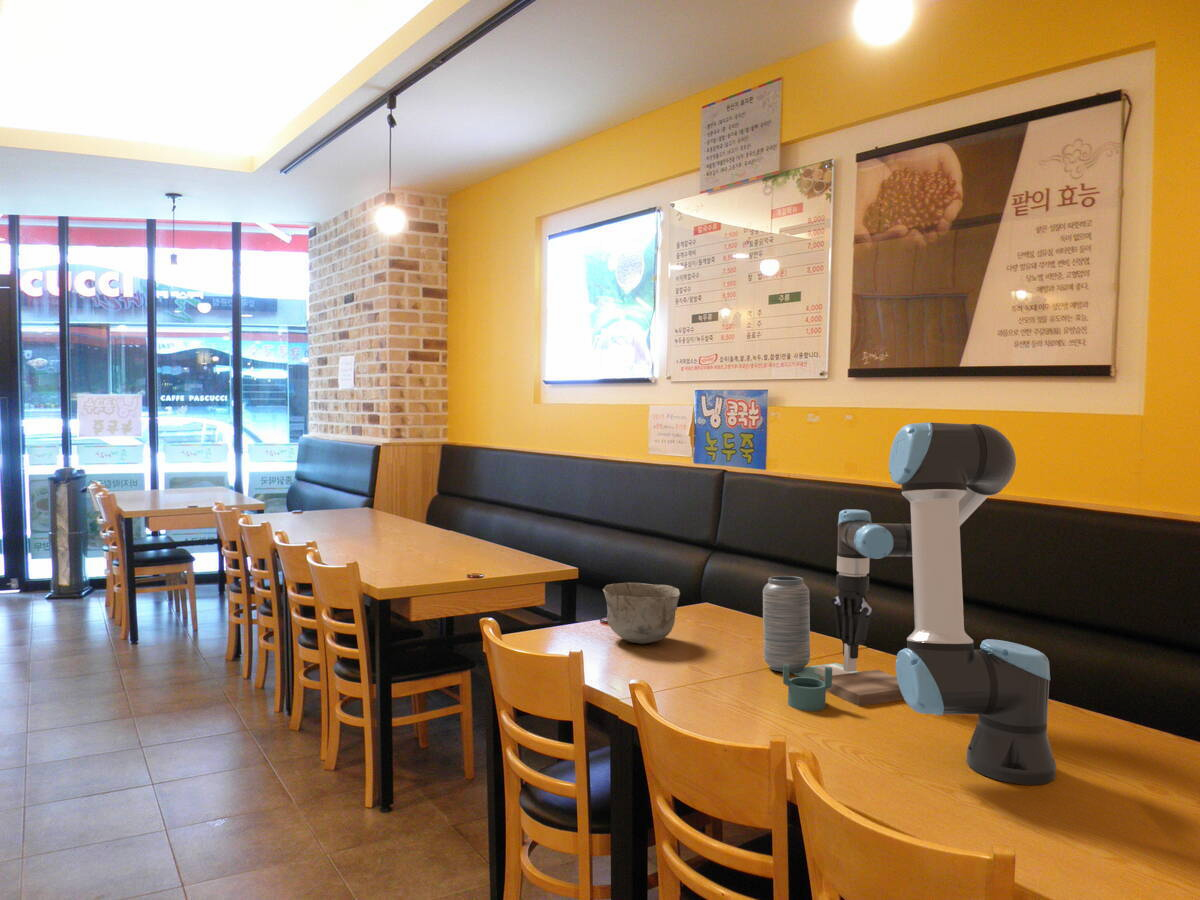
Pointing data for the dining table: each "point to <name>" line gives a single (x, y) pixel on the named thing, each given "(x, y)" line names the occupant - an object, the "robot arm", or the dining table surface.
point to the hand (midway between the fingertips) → (849, 670)
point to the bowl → (641, 610)
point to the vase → (786, 623)
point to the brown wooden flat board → (865, 687)
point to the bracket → (807, 690)
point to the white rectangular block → (835, 670)
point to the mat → (810, 671)
